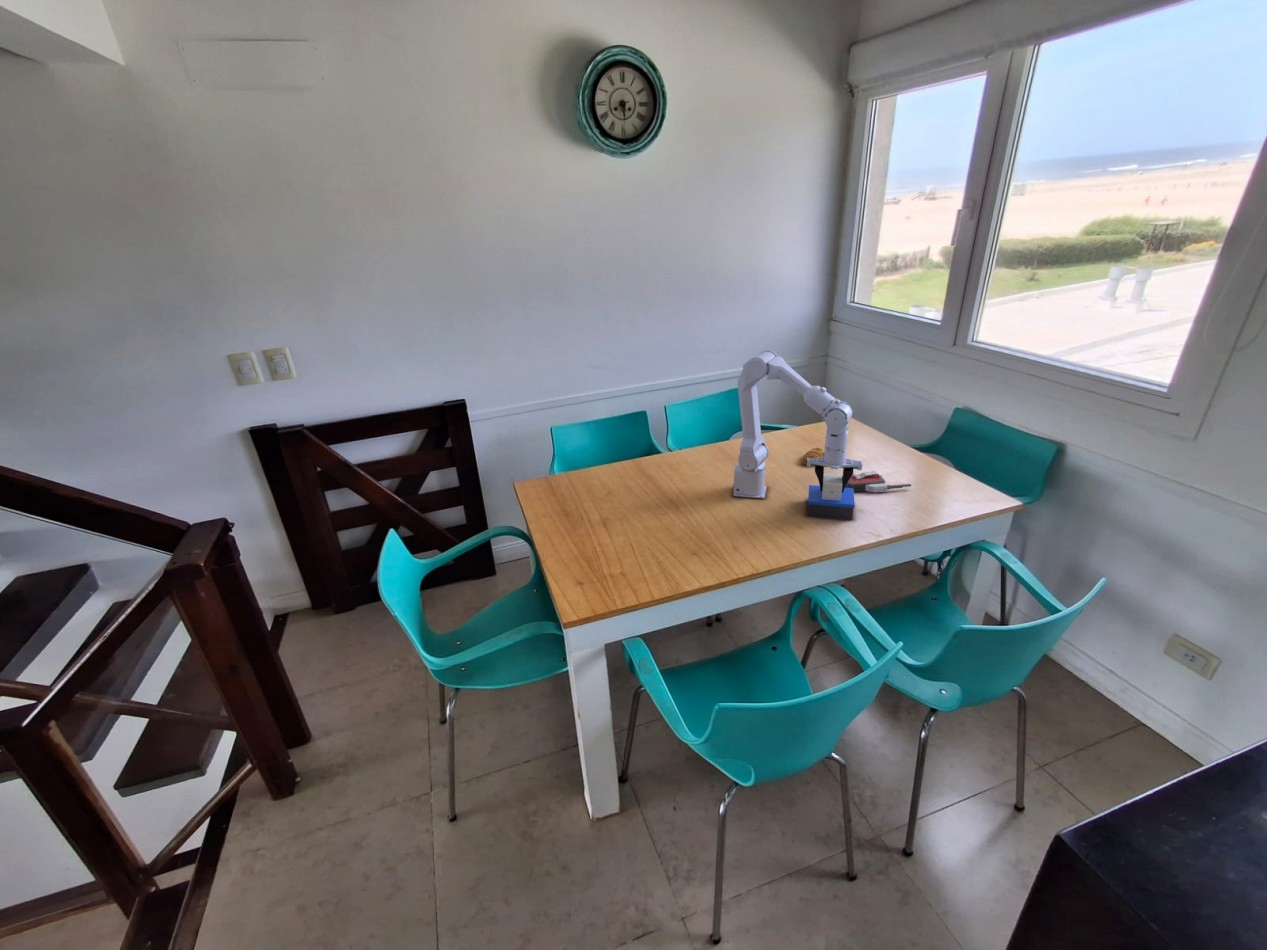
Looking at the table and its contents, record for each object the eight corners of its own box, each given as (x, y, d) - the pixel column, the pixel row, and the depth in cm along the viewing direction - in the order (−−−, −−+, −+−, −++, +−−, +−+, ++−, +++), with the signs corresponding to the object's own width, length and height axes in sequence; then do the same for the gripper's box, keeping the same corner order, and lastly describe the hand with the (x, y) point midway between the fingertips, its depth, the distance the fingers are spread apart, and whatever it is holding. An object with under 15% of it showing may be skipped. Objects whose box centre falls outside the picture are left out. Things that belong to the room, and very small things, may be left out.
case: (840, 501, 156) (842, 485, 154) (822, 499, 158) (823, 483, 156) (840, 489, 162) (841, 474, 160) (822, 488, 164) (823, 473, 162)
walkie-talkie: (847, 496, 169) (912, 490, 169) (848, 483, 167) (914, 477, 167) (836, 483, 177) (898, 478, 177) (837, 470, 175) (900, 465, 175)
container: (806, 516, 160) (808, 501, 158) (807, 499, 169) (809, 484, 167) (852, 520, 156) (854, 505, 154) (851, 503, 165) (853, 488, 163)
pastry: (816, 468, 187) (817, 458, 186) (797, 464, 191) (798, 454, 190) (827, 459, 194) (828, 449, 192) (809, 455, 198) (809, 445, 196)
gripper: (808, 450, 153) (804, 494, 158) (864, 453, 148) (859, 498, 154) (808, 441, 159) (805, 483, 164) (863, 443, 154) (858, 487, 160)
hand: (831, 490), depth 160 cm, fingers closed on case, 5 cm apart
